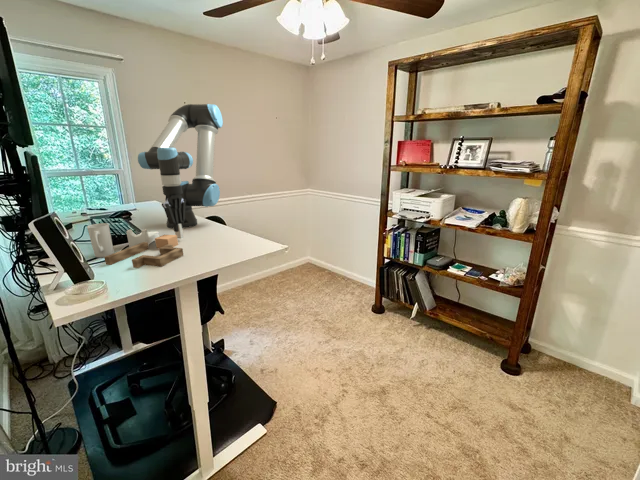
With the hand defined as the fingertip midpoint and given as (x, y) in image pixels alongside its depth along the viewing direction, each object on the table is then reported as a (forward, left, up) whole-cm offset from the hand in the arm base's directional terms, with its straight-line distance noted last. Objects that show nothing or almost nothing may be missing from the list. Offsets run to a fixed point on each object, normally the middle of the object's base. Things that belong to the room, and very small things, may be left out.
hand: (179, 237), depth 136 cm
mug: (+24, -16, -2) cm, 29 cm away
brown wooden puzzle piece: (+22, +3, -2) cm, 22 cm away
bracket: (+6, -14, -2) cm, 15 cm away
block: (+8, 0, -2) cm, 8 cm away
